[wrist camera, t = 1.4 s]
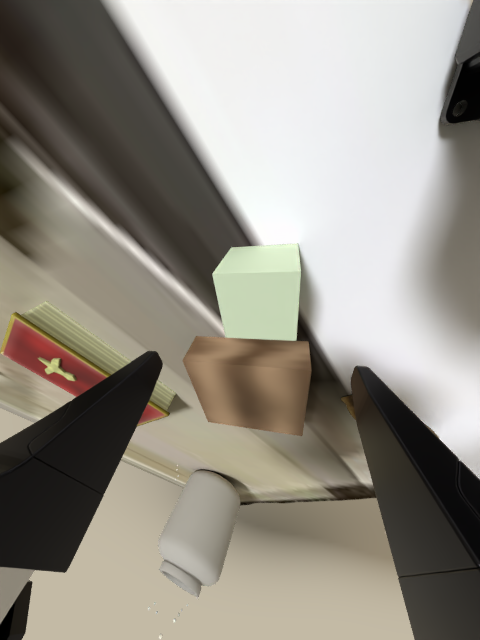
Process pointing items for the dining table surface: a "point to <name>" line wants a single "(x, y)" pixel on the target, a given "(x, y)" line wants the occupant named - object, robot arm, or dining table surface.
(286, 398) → the walnut block
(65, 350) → the hardcover book
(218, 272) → the green cube
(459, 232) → the dining table surface
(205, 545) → the jar
